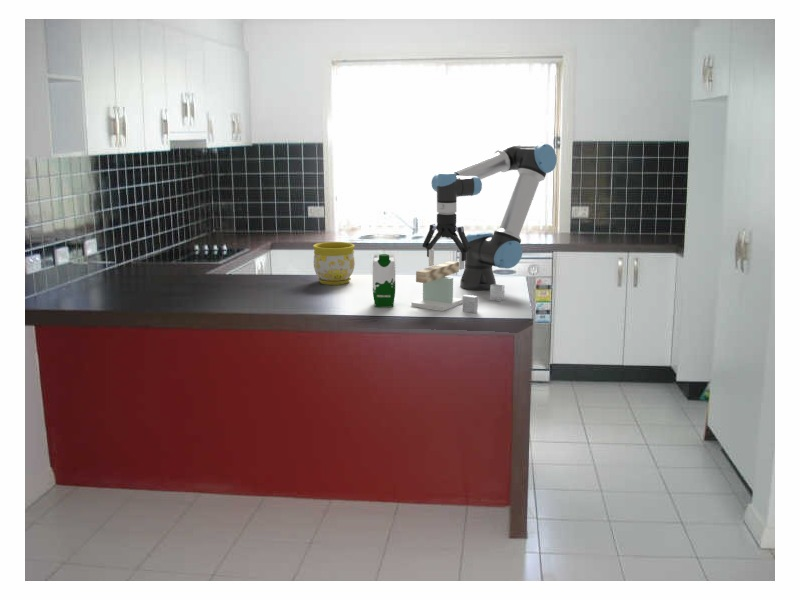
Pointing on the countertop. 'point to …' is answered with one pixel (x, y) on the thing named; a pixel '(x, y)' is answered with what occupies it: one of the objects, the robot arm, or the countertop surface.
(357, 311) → the countertop surface
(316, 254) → the flowerpot
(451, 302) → the ridge stand
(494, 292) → the posts
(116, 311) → the countertop surface
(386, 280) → the milk carton
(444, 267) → the batten
